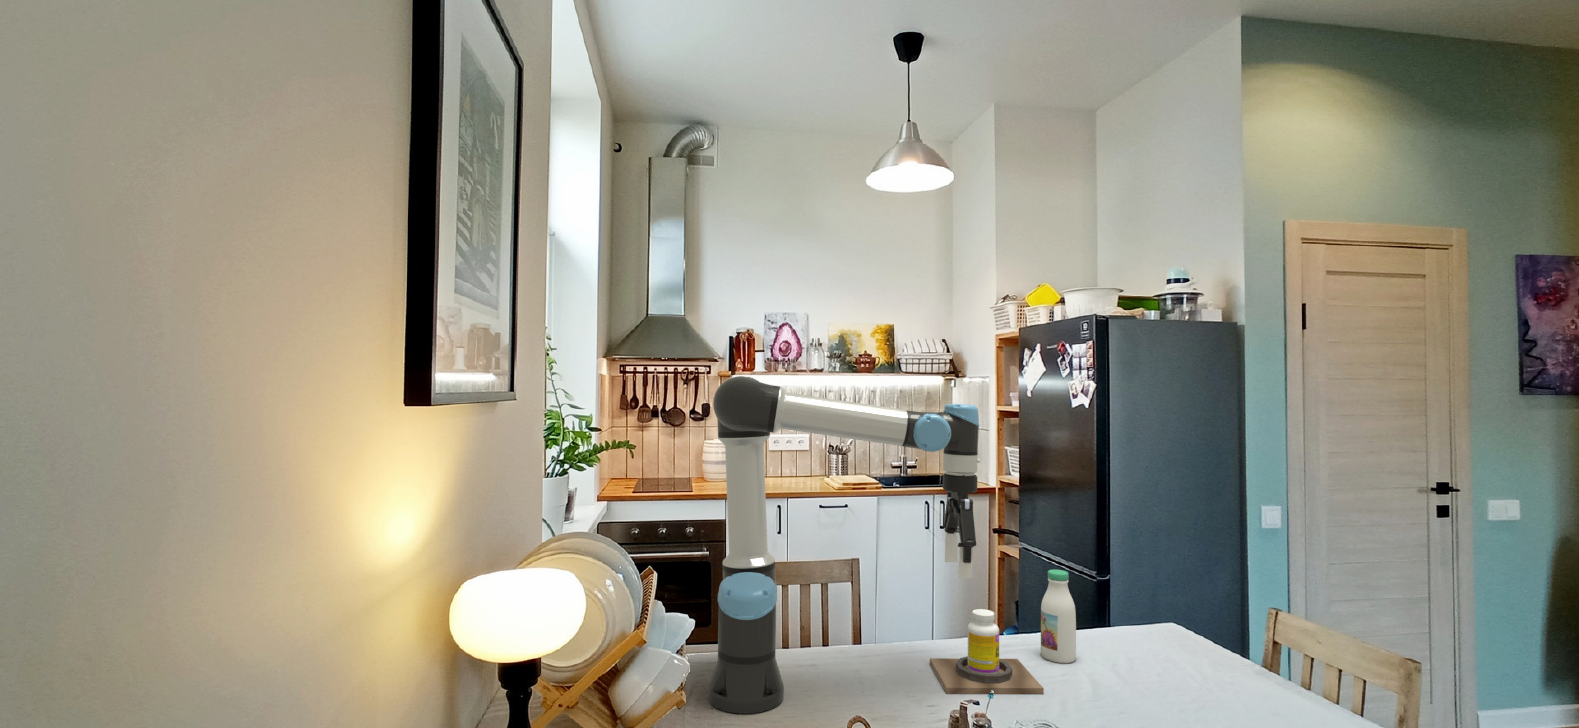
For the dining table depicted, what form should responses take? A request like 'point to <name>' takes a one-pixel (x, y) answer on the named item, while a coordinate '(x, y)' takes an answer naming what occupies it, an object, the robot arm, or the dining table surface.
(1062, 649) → the milk bottle
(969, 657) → the supplement bottle
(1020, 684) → the socket board
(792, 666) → the dining table surface
